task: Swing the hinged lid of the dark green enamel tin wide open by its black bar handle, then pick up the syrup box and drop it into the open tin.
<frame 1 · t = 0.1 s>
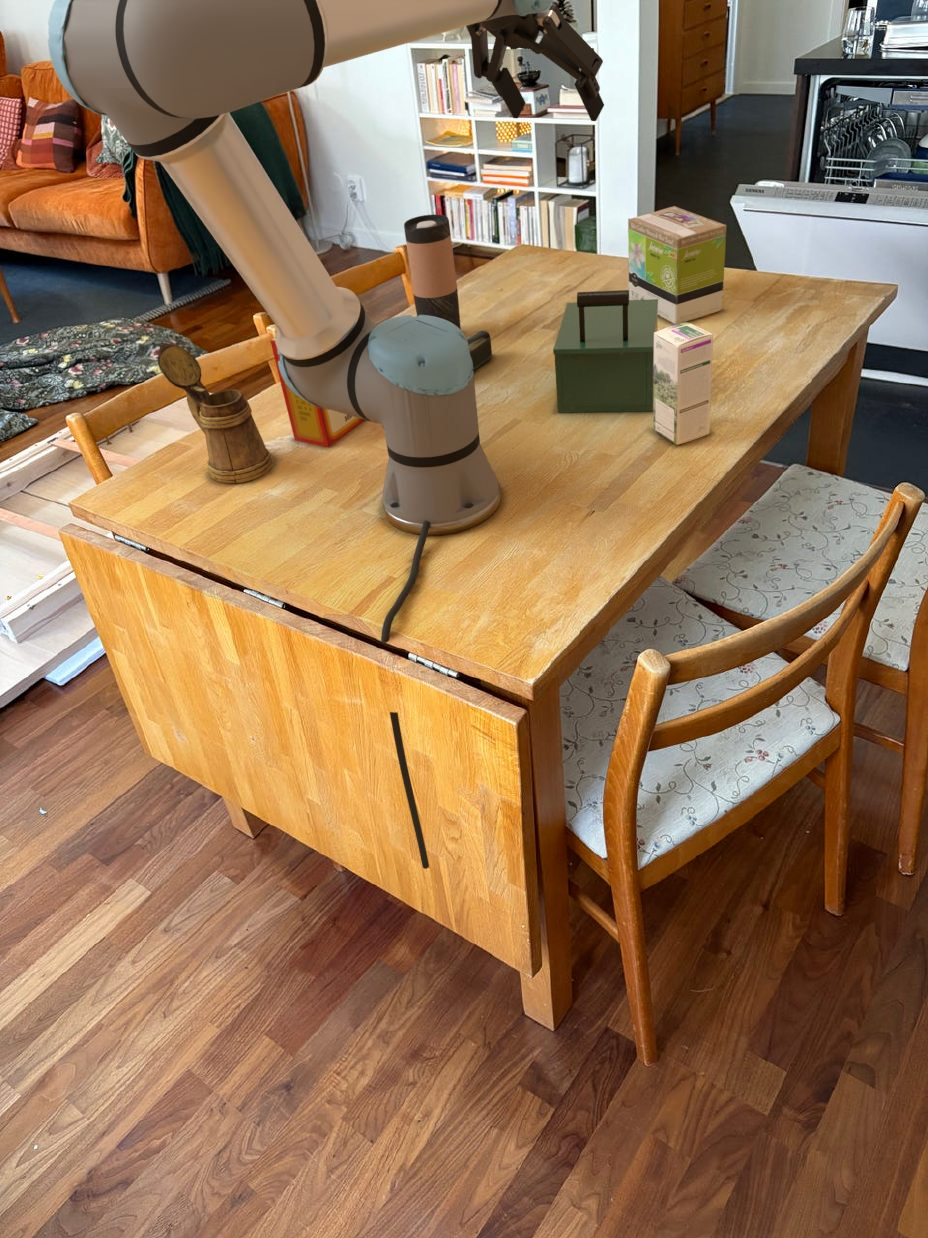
hand: (557, 111, 137), 36 cm above the table, tool tilted 35°, fingers open, 13 cm apart
travel mug: (441, 339, 169), on the table
lid: (607, 302, 138), point 13 cm above the table, hinge at 0.0°
wooden mug: (231, 467, 140), on the table
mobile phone: (463, 374, 156), on the table
tin: (609, 386, 146), on the table
baking soda box: (331, 430, 145), on the table
tea box: (674, 307, 169), on the table
syrup box: (680, 433, 133), on the table
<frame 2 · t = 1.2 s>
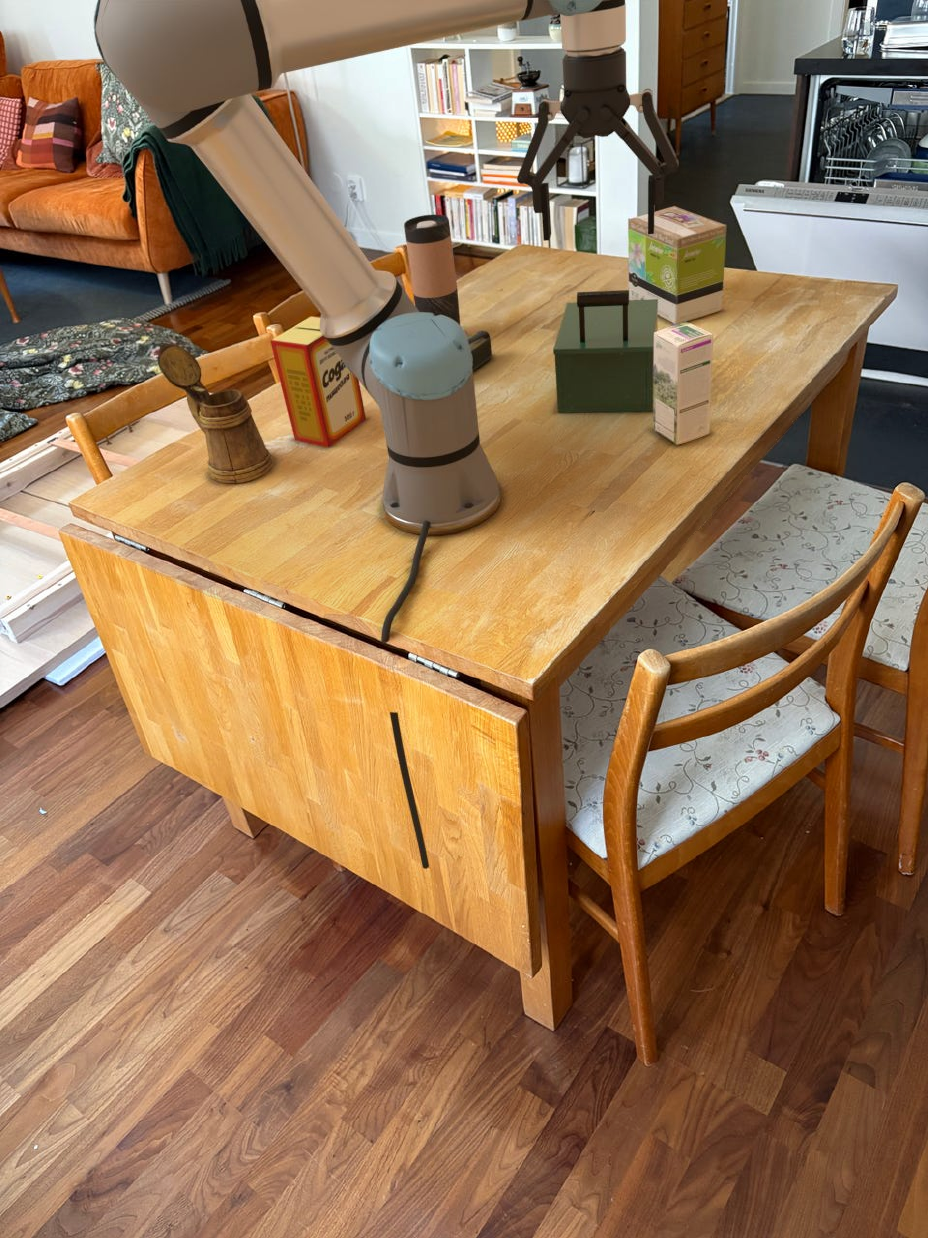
hand: (598, 234, 126), 25 cm above the table, tool pointing down, fingers open, 13 cm apart
nothing on the table moved.
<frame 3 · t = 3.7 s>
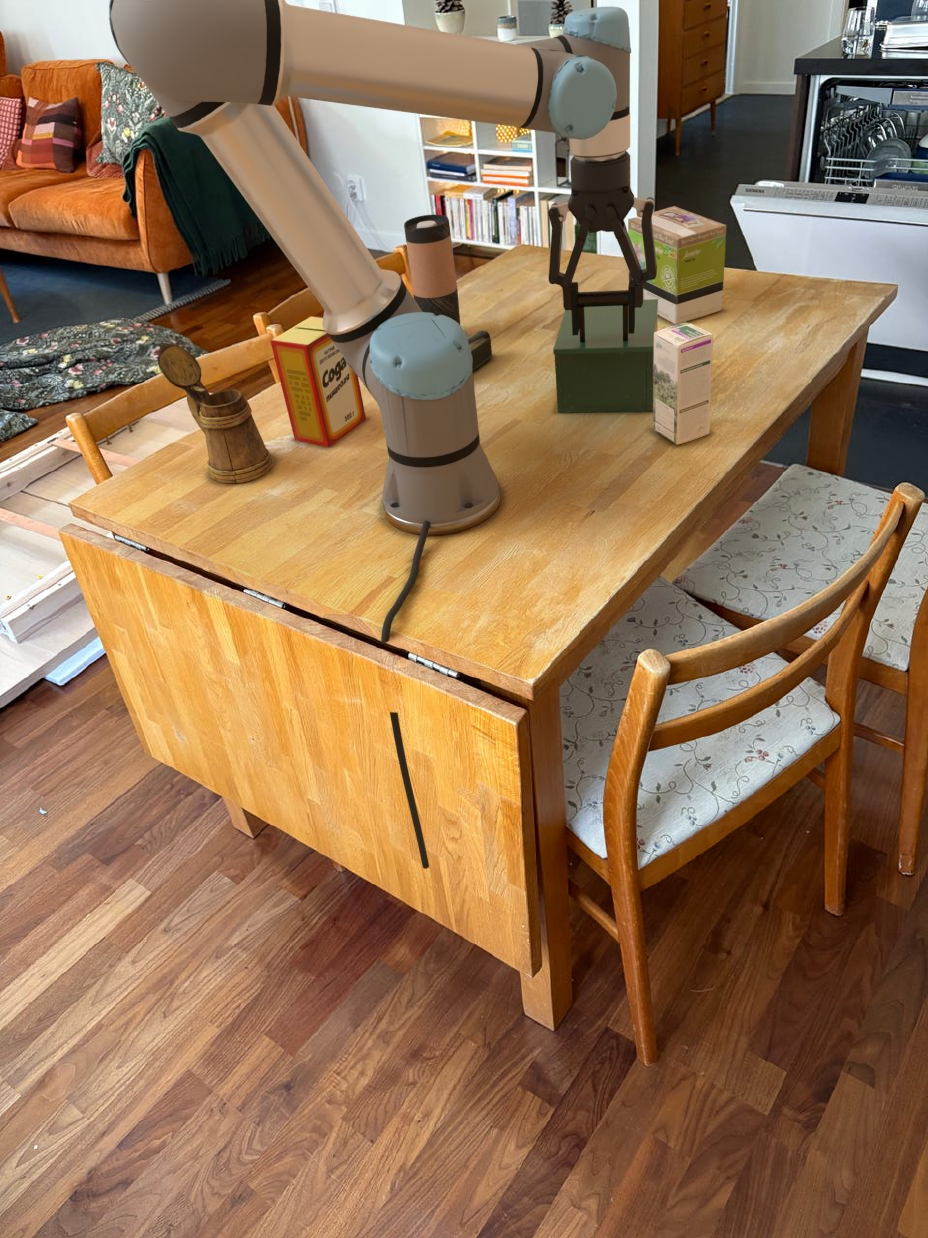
hand: (603, 330, 134), 12 cm above the table, tool pointing down, fingers closed on lid, 7 cm apart
lid: (607, 302, 138), point 13 cm above the table, hinge at 0.0°, touching gripper
everything else where it was.
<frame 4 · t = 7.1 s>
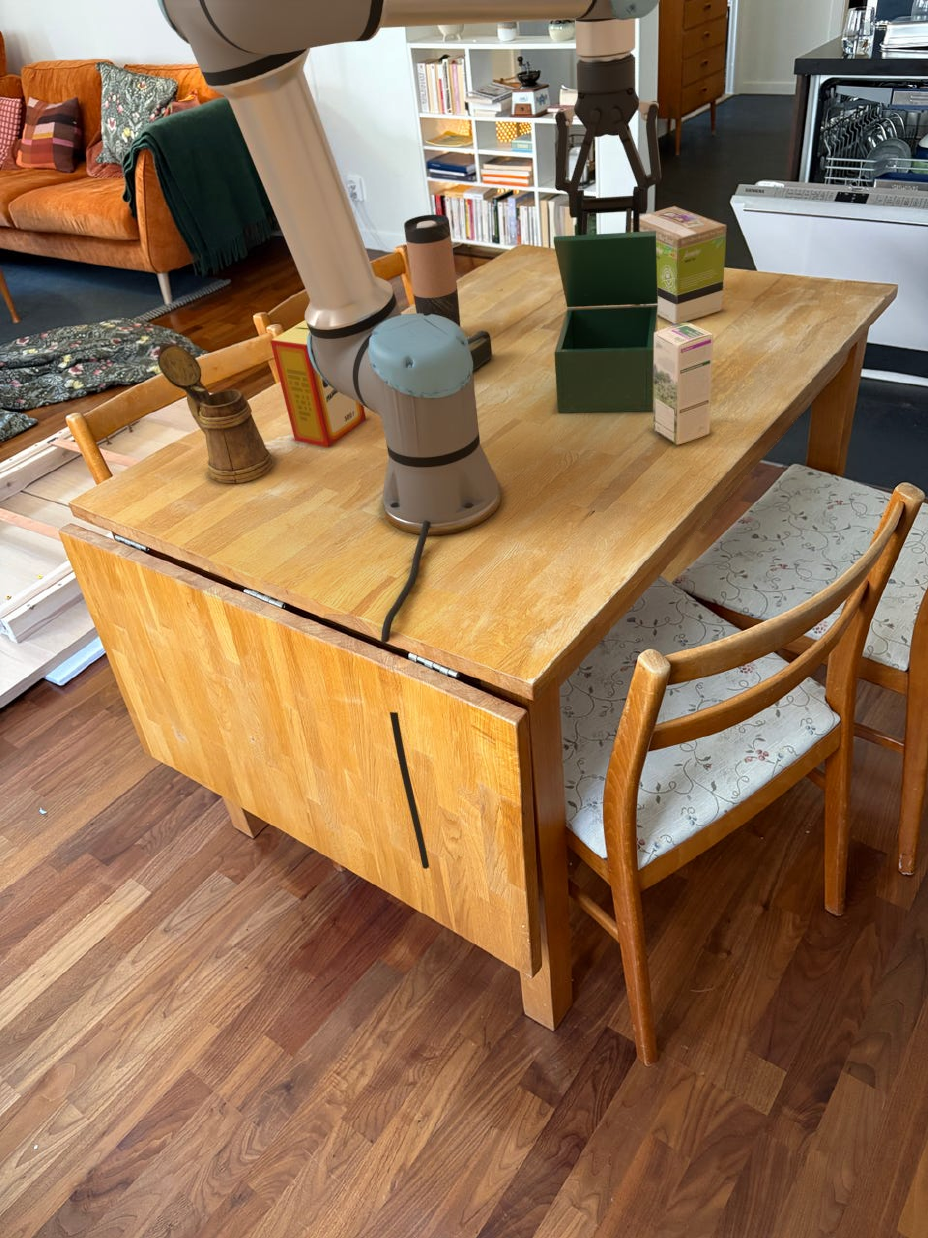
hand: (608, 238, 137), 21 cm above the table, tool pointing down, fingers closed on lid, 7 cm apart
lid: (609, 249, 139), point 19 cm above the table, hinge at 49.7°, touching gripper
everything else where it was.
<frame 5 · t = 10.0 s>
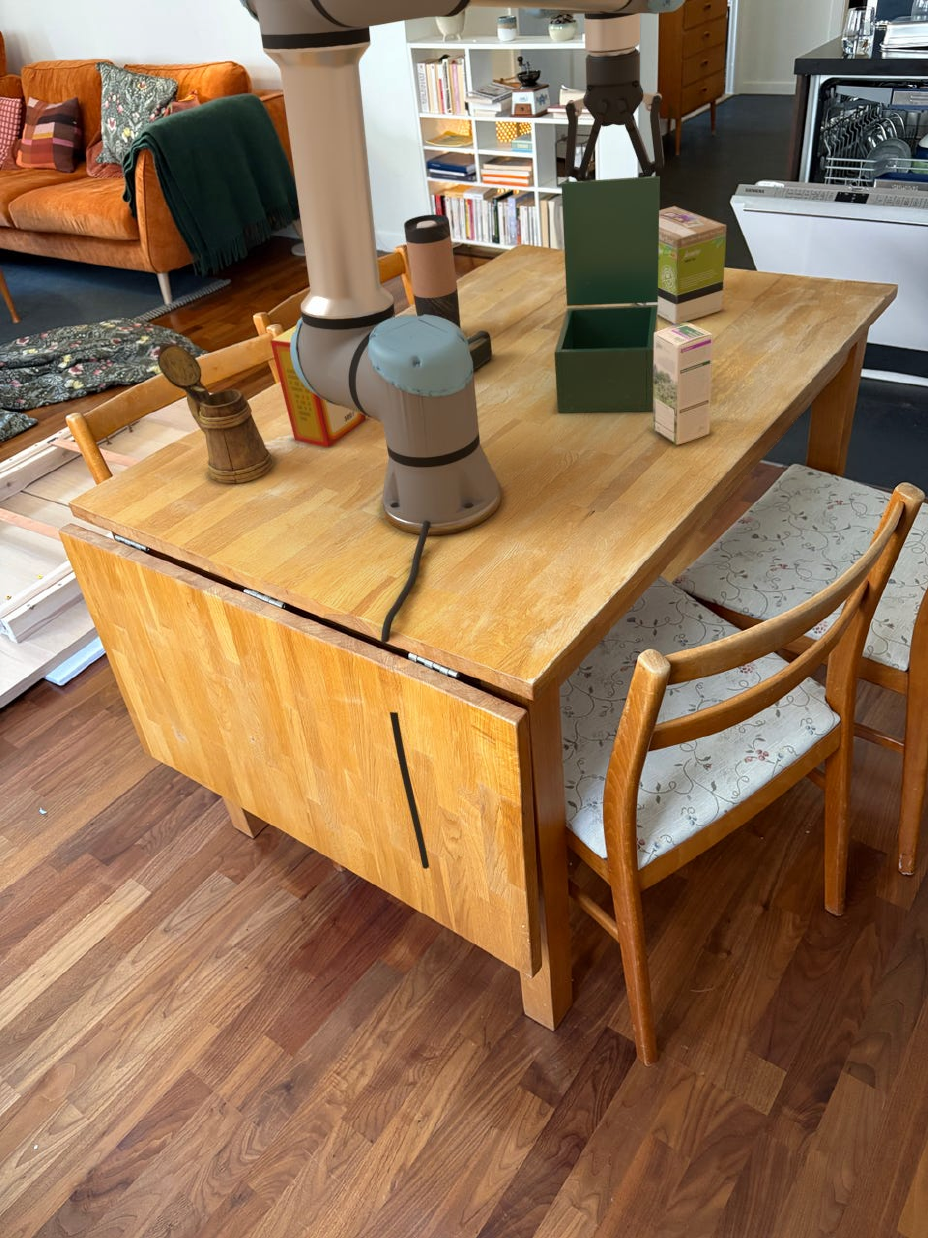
hand: (614, 221, 147), 20 cm above the table, tool pointing down, fingers open, 7 cm apart
lid: (612, 236, 144), point 19 cm above the table, hinge at 90.2°
everything else where it was.
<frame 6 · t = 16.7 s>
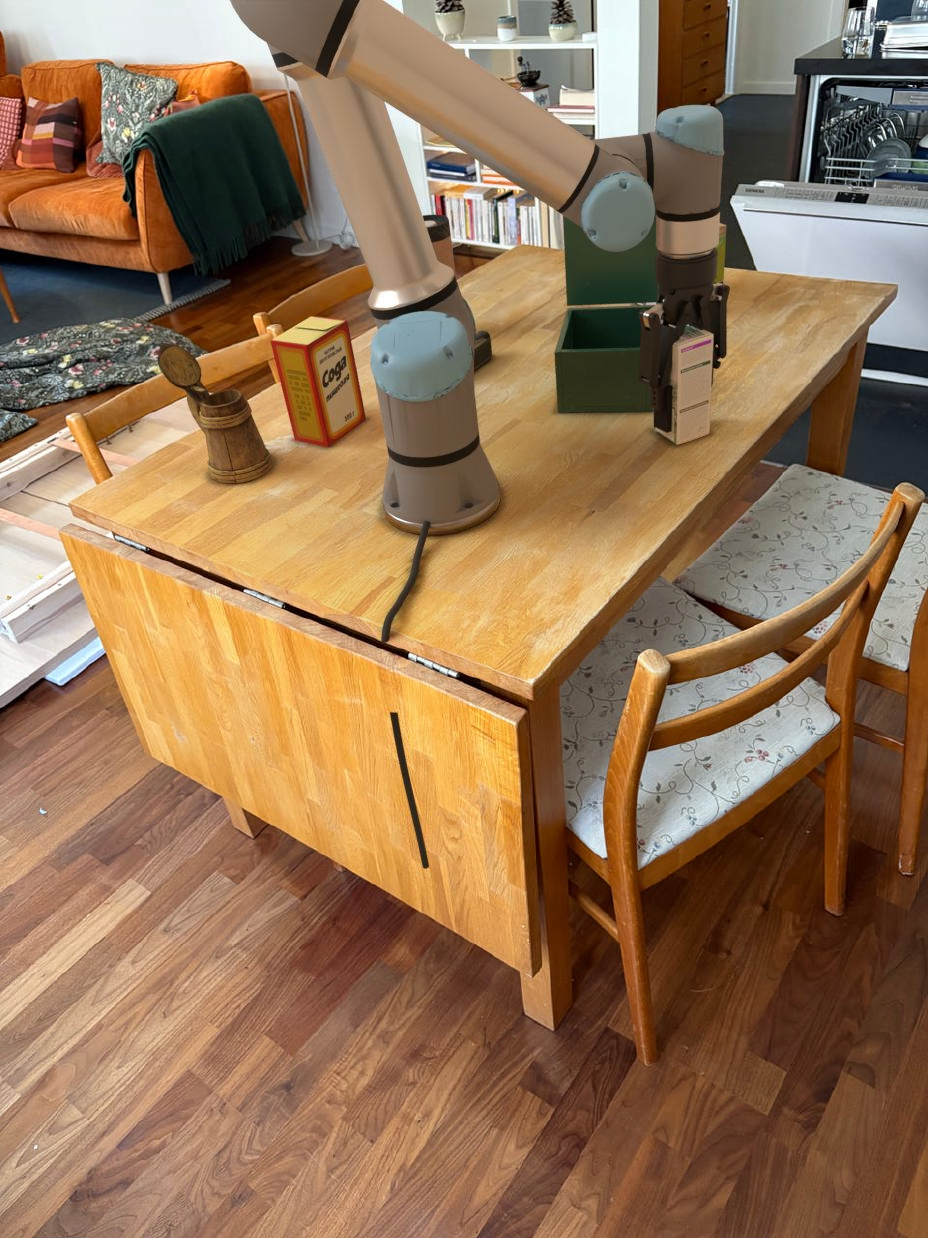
hand: (681, 419, 131), 2 cm above the table, tool pointing down, fingers closed on syrup box, 6 cm apart
syrup box: (680, 433, 133), on the table, touching gripper
everything else where it was.
when the fingers open (6 cm above the table, at t = 24.9 s): syrup box stays where it is, resting on tin.
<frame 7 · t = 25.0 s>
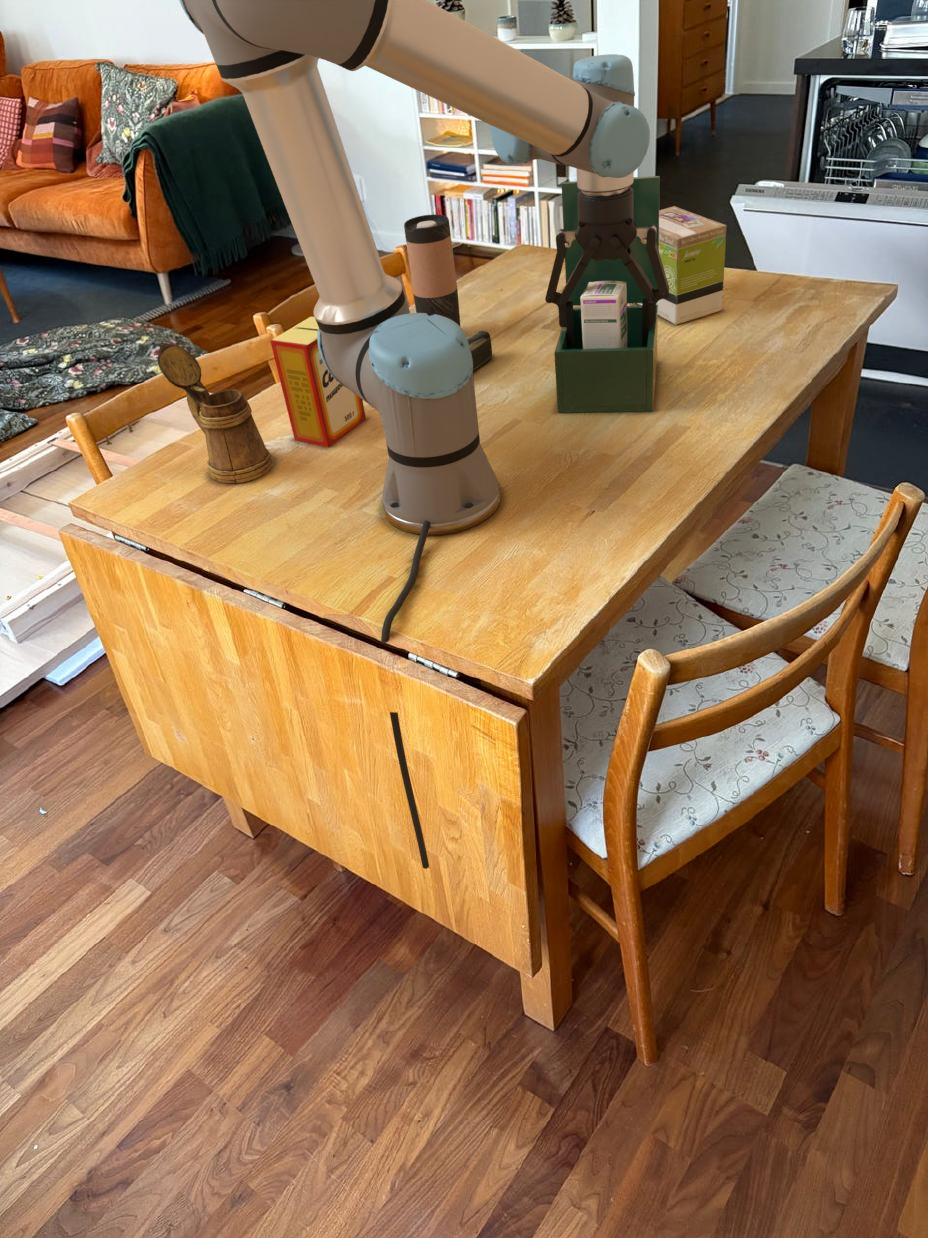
hand: (607, 346, 142), 7 cm above the table, tool pointing down, fingers open, 10 cm apart
syrup box: (606, 383, 146), point 1 cm above the table, touching tin
everything else where it was.
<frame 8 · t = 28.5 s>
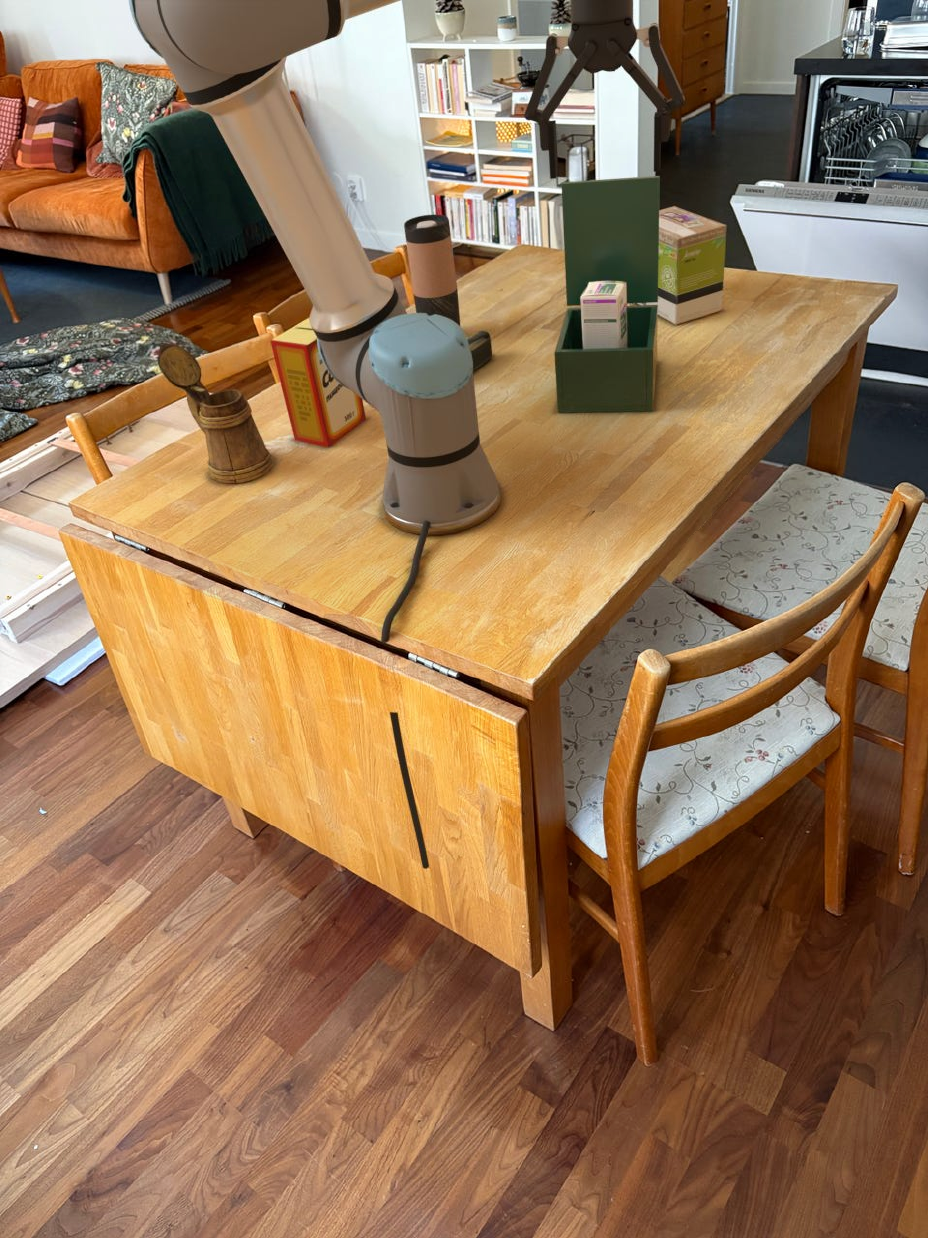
hand: (604, 172, 127), 31 cm above the table, tool pointing down, fingers open, 13 cm apart
nothing on the table moved.
at the end: lid at +90° (first picture: +0°); syrup box inside the target area in the tin (0.4 cm from its centre), point 0.7 cm above the tin's base; the gripper is holding nothing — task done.
